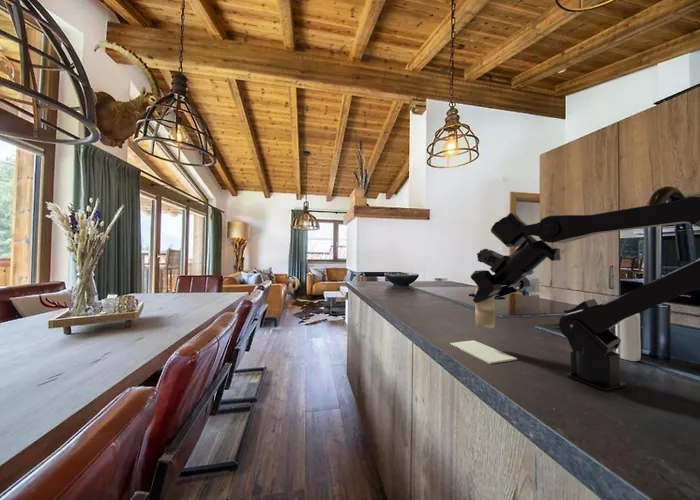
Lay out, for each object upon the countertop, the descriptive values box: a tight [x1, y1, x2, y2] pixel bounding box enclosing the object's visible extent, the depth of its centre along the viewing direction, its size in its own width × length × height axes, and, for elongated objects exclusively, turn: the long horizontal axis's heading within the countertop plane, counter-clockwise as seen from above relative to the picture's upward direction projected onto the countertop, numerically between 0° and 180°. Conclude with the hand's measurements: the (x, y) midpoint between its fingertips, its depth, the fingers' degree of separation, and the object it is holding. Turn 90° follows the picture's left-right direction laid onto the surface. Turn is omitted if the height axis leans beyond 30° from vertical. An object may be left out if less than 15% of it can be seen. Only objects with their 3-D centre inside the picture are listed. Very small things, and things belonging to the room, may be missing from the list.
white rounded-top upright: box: [615, 313, 642, 362], centre depth 67 cm, size 10×4×12 cm, turn 134°
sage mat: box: [449, 339, 518, 365], centre depth 69 cm, size 14×8×1 cm, turn 17°
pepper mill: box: [474, 284, 496, 330], centre depth 72 cm, size 5×5×12 cm
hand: (479, 300), depth 73 cm, fingers closed on pepper mill, 5 cm apart
